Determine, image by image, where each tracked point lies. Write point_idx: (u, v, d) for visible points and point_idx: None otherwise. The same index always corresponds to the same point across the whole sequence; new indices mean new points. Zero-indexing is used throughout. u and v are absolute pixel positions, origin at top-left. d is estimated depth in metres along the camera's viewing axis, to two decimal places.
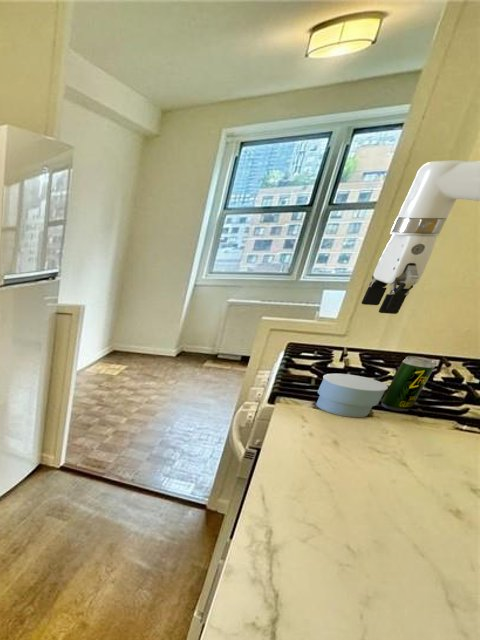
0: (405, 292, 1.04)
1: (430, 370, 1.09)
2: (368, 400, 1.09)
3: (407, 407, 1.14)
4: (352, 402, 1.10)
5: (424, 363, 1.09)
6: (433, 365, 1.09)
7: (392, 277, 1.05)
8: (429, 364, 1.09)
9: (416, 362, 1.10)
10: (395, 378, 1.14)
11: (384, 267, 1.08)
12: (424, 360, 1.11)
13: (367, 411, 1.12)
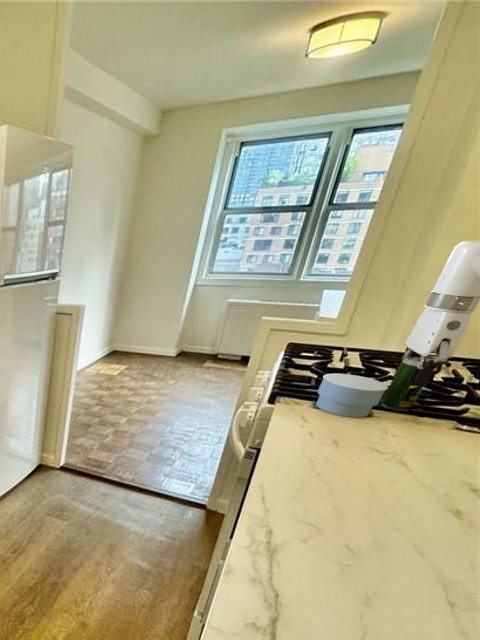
0: (433, 368, 1.07)
1: None
2: (368, 400, 1.09)
3: (407, 407, 1.14)
4: (352, 402, 1.10)
5: None
6: None
7: (427, 350, 1.07)
8: None
9: (416, 362, 1.10)
10: (395, 378, 1.14)
11: (418, 338, 1.09)
12: None
13: (367, 411, 1.12)
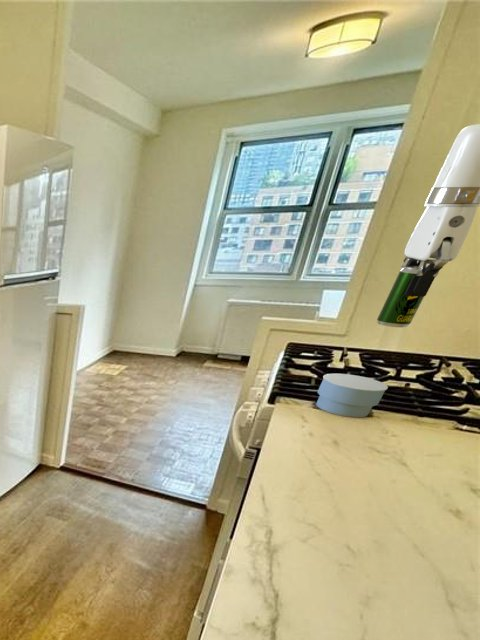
0: (434, 273, 0.97)
1: None
2: (368, 400, 1.09)
3: (405, 322, 1.04)
4: (352, 402, 1.10)
5: None
6: None
7: (427, 253, 0.97)
8: None
9: (415, 269, 1.00)
10: (392, 290, 1.04)
11: (417, 243, 0.99)
12: None
13: (367, 411, 1.12)
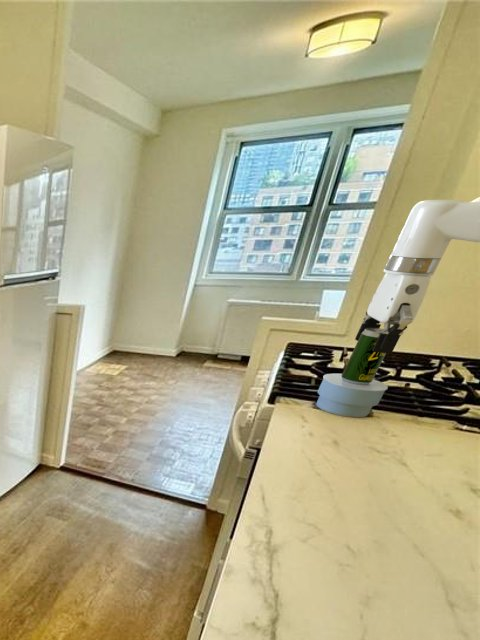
0: (399, 332, 1.01)
1: None
2: (368, 400, 1.09)
3: (366, 381, 1.10)
4: (352, 402, 1.10)
5: None
6: None
7: (386, 316, 1.02)
8: None
9: (375, 333, 1.06)
10: (354, 350, 1.10)
11: (378, 305, 1.05)
12: None
13: (367, 411, 1.12)
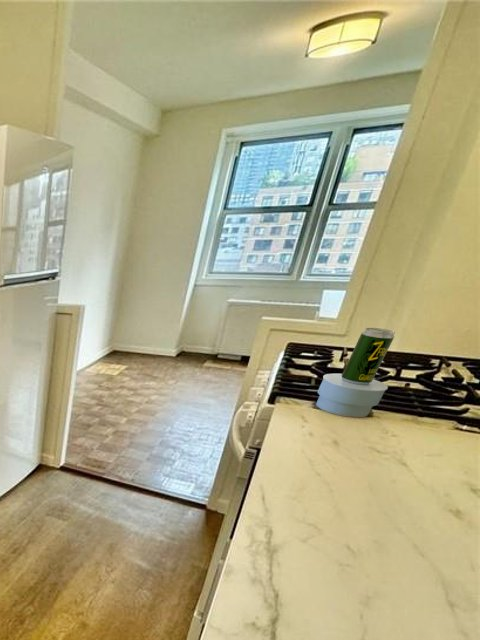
0: None
1: (389, 341, 1.06)
2: (368, 400, 1.09)
3: (366, 381, 1.10)
4: (352, 402, 1.10)
5: (383, 334, 1.05)
6: (392, 336, 1.05)
7: None
8: (388, 335, 1.05)
9: (375, 333, 1.06)
10: (354, 350, 1.10)
11: None
12: (383, 331, 1.07)
13: (367, 411, 1.12)
